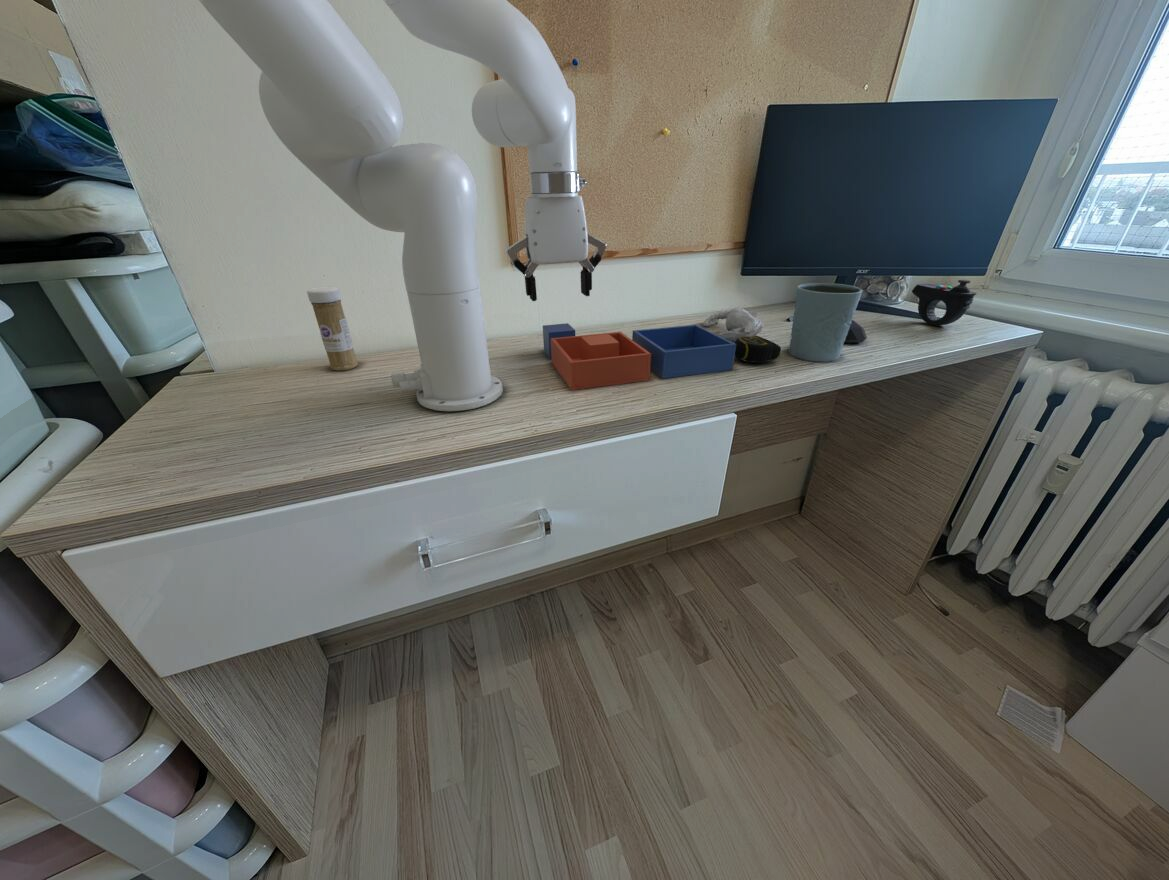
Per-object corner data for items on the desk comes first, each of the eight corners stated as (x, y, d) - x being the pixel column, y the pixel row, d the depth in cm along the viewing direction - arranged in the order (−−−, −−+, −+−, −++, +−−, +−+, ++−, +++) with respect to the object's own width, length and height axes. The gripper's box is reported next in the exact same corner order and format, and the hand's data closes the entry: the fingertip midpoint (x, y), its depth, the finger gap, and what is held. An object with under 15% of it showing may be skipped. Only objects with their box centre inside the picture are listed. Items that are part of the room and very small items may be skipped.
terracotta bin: (571, 390, 67) (570, 362, 65) (551, 362, 78) (550, 338, 76) (649, 380, 70) (651, 353, 68) (620, 355, 81) (620, 331, 79)
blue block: (549, 359, 80) (548, 332, 77) (543, 351, 84) (542, 325, 81) (575, 356, 81) (575, 330, 79) (568, 348, 85) (568, 323, 83)
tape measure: (780, 364, 77) (784, 343, 75) (747, 368, 75) (751, 347, 73) (755, 352, 82) (759, 332, 81) (724, 356, 81) (727, 336, 79)
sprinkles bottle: (326, 371, 75) (300, 291, 68) (338, 362, 79) (314, 285, 72) (352, 371, 75) (329, 290, 68) (363, 362, 79) (342, 285, 72)
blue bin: (662, 378, 71) (664, 352, 69) (631, 354, 82) (632, 330, 80) (732, 369, 74) (736, 344, 72) (693, 347, 85) (696, 324, 83)
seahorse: (682, 320, 99) (736, 330, 81) (724, 298, 100) (786, 303, 82) (688, 340, 101) (741, 355, 83) (729, 319, 103) (791, 329, 85)
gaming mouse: (818, 324, 99) (822, 306, 97) (872, 343, 87) (879, 323, 85) (795, 327, 97) (799, 308, 95) (847, 346, 85) (853, 326, 83)
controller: (950, 331, 93) (970, 283, 88) (899, 318, 104) (914, 273, 99) (965, 329, 95) (986, 281, 90) (913, 316, 105) (929, 272, 100)
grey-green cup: (846, 365, 76) (868, 294, 70) (784, 359, 79) (800, 291, 73) (837, 348, 84) (856, 283, 78) (781, 343, 87) (795, 280, 81)
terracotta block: (590, 374, 71) (590, 345, 69) (581, 364, 76) (581, 336, 73) (618, 371, 73) (619, 342, 70) (608, 361, 77) (608, 334, 74)
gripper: (598, 185, 74) (598, 288, 83) (496, 188, 70) (508, 296, 79) (613, 185, 68) (612, 297, 77) (503, 188, 64) (515, 306, 73)
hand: (559, 297), depth 78 cm, fingers open, 9 cm apart
